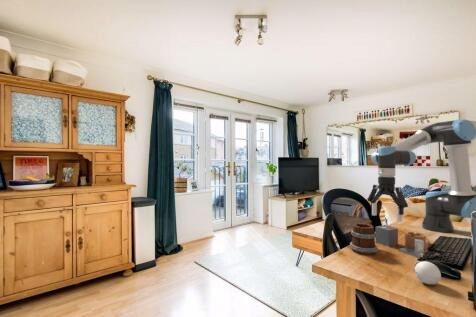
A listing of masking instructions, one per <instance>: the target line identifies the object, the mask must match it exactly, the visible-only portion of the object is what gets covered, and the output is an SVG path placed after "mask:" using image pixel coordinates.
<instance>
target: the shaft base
mask: <svg viewBox="0 0 476 317" xmlns="http://www.w3.org/2000/svg"><path fill="white" fill-rule="evenodd" d="M428 250H429V249H424V241H423V240H419V239H415V248H414V247H401V248H399V249H398V251H399V252H401V253H403V254H406V255H409V256H412V257H415V258H418V259H420V257H423V255H424V254H425V252H427V251H428ZM439 254H440V253H439V252H436V253H435V254H434V255H439Z"/></svg>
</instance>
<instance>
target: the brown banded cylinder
mask: <svg viewBox="0 0 476 317" xmlns="http://www.w3.org/2000/svg"><path fill="white" fill-rule="evenodd" d="M372 222H373V221H372V220H370V219H369V220H367V222H366V223H360V222H359V223H357V222H356V223H353V225H352V229H351V231H350V232H351V233H350V235H352V238H351V239H352V240H351V242H349V247H350V249H352V250H353V251H352V250H351V251H352V252H354V253H356V252H357V253H356V254H359V255H363V254H364V256H371V255H375V254H376V253H377V251H378V249H379V247H378V246H377V245H376V235H377V234H376V231H375V227H374V226H373V225H372Z"/></svg>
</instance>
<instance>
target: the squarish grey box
mask: <svg viewBox="0 0 476 317" xmlns="http://www.w3.org/2000/svg"><path fill="white" fill-rule="evenodd" d="M375 233H376V234H377V235H376V237H375V243H377V244H380V245H383V246H386V247H393V246H398V245H399V228H396V227H393V226H390V225H387V224H385V225H378V226H375Z"/></svg>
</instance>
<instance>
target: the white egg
mask: <svg viewBox="0 0 476 317" xmlns="http://www.w3.org/2000/svg"><path fill="white" fill-rule="evenodd" d="M413 271H414V274H415V277H416V278H417V279H418V280H419V281H420V282H421V283H423V284H426V285H429V286H430V285H435V284H438V283H439V282H440V281H441V278H442V275H441V271H440V269H439V267H438V266H437V265H436V264H434V263H432V262H430V261H426V260H424V261H419V262H418V263H416V265H415V266H414V269H413Z"/></svg>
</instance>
